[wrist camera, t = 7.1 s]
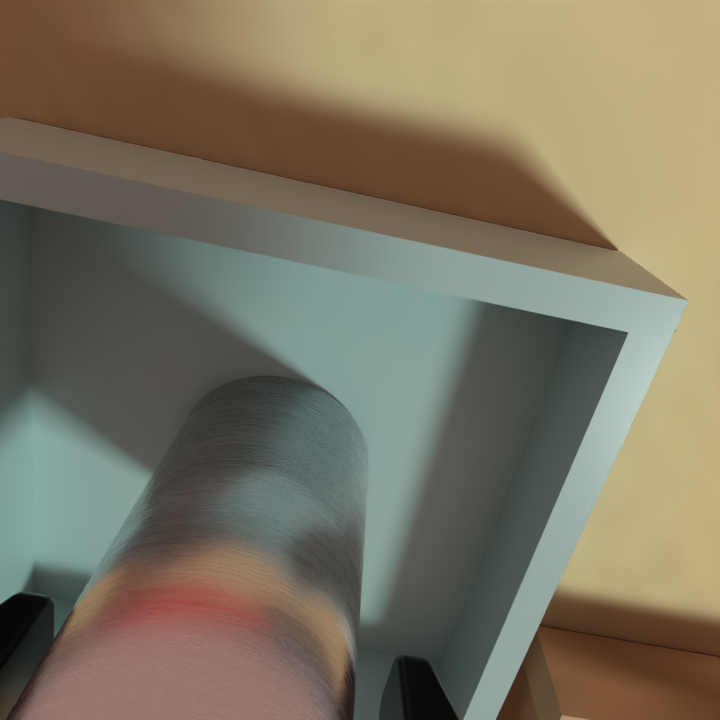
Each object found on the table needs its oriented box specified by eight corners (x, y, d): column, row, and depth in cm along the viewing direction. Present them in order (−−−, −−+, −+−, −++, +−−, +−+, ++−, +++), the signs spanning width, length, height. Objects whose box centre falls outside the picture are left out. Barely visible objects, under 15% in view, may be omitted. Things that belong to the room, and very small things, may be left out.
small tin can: (155, 525, 13) (-288, 1369, 4) (172, 337, 11) (-513, 1163, 3) (359, 566, 13) (298, 1449, 5) (409, 387, 11) (453, 1305, 3)
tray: (20, 589, 14) (-47, 689, 12) (10, 116, 10) (-98, 129, 8) (457, 663, 15) (472, 769, 13) (621, 251, 11) (688, 300, 8)
